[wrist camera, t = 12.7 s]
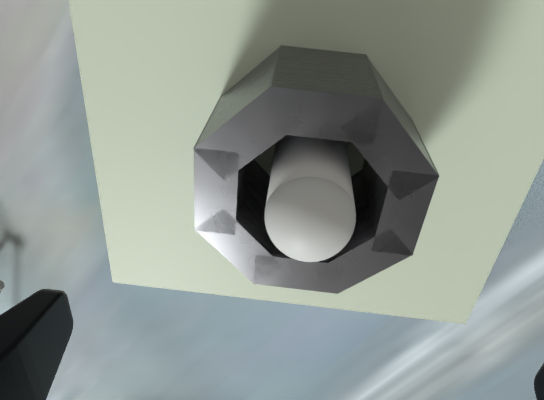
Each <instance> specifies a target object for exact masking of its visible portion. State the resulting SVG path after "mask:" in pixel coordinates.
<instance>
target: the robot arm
mask: <svg viewBox="0 0 544 400" xmlns="http://www.w3.org/2000/svg"><path fill="white" fill-rule="evenodd" d="M72 329H73V318H72V314H71V310H70V305H69V301H68V297H67V294H66V293H65V292H64V291H60V290H52V289H42V290H39V291H37V292H36V293H34V294H33V295H31V296H29V297H28V298H26V299H25V300H23V301H22V302H20V303H18V304H17V305H15V306H14V307H12V308H11V309H9V310H7V311H6V312H4V313H3V314H1V315H0V400H46V398H47V396H48V393H49V390H50V388H51V385H52V383H53V380H54V377H55V375H56V372H57V370H58V367H59V364H60V362H61V359H62V357H63V354H64V352H65V349H66V346H67V344H68V341H69V339H70V336H71V333H72ZM534 389H535V394H536V398H537V400H544V364H543V365H542V367H541V368H540V370H539V371H538V373H537V374H536V376H535V380H534Z"/></svg>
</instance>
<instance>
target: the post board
mask: <svg viewBox="0 0 544 400" xmlns="http://www.w3.org/2000/svg"><path fill="white" fill-rule="evenodd" d="M69 5H70V12H71V18H72V24H73V31H74V37H75V44H76V50H77V57H78V63H79V69H80V76H81V82H82V89H83V95H84V101H85V108H86V114H87V121H88V127H89V134H90V140H91V146H92V153H93V159H94V166H95V172H96V178H97V185H98V191H99V198H100V204H101V211H102V217H103V223H104V230H105V236H106V243H107V249H108V255H109V262H110V268H111V275H112V281H113V282H115V283H123V284H132V285H140V286H148V287H157V288H165V289H174V290H182V291H191V292H199V293H208V294H216V295H224V296H233V297H241V298H250V299H258V300H267V301H275V302H284V303H292V304H301V305H309V306H317V307H326V308H334V309H343V310H351V311H360V312H368V313H377V314H385V315H393V316H402V317H410V318H419V319H427V320H436V321H444V322H453V323H461V324H466V323H467V320H468V318H469V316H470V314H471V312H472V310H473V308H474V306H475V303H476V301H477V299H478V297H479V295H480V293H481V291H482V289H483V287H484V284H485V282H486V280H487V278H488V276H489V274H490V272H491V270H492V267H493V265H494V263H495V261H496V259H497V257H498V255H499V253H500V250H501V248H502V246H503V244H504V242H505V240H506V238H507V236H508V234H509V231H510V229H511V227H512V225H513V223H514V221H515V219H516V217H517V214H518V212H519V210H520V208H521V206H522V204H523V202H524V200H525V197H526V195H527V193H528V191H529V189H530V187H531V185H532V183H533V181H534V178H535V176H536V174H537V172H538V170H539V168H540V166H541V164H542V161H543V159H544V0H69ZM280 45H283V46H293V47H302V48H311V49H320V50H330V51H339V52H348V53H358V54H367V57H368V58H369V60H370V61H371V62H372V64H373V65H374V67H375V68H376V70H377V71H378V72H379V74H380V75H381V77H382V78H383V79H384V81H385V82H386V84H387V85H388V86H389V88H390V89H391V91H392V92H393V93H394V95H395V96H396V98H397V99H398V100H399V102H400V103H401V105H402V106H403V108H404V109H405V110H406V112H407V113H408V115H409V116H410V117H411V118H412V120H413V122H414V124H415V127H416V129H417V131H418V133H419V135H420V137H421V139H422V141H423V143H424V145H425V147H426V149H427V151H428V153H429V155H430V157H431V159H432V161H433V163H434V165H435V167H436V170H437V172H438V174H439V178H438V181H437V184H436V187H435V190H434V193H433V196H432V199H431V202H430V205H429V208H428V211H427V214H426V217H425V220H424V223H423V226H422V229H421V232H420V235H419V238H418V241H417V244H416V246H415V249H414V252H413V255H412V256H410V257H408V258H406V259H404V260H402V261H400V262H398V263H396V264H394V265H393V266H391V267H389V268H387V269H385V270H383V271H381V272H379V273H377V274H375V275H373V276H371V277H369V278H367V279H365V280H364V281H362V282H360V283H358V284H356V285H354V286H352V287H350V288H348V289H346V290H344V291H342V292H340V293H339V294H334V293H326V292H318V291H309V290H301V289H292V288H284V287H276V286H267V285H259V284H253V283H252V282H251V281H250V280H249V279H248V278H247V277H246V276H245V275H244V274H243V273H242V272H240V271H239V270H238V269H237V268H236V267H235V266H234V265H233V264H232V263H231V262H230V261H228V260H227V259H226V258H225V257H224V256H223V255H222V254H221V253H220V252H219V251H217V250H216V249H215V248H214V247H213V246H212V245H211V244H210V243H209V242H208V241H207V240H205V239H204V238H203V237H202V236H201V235H200V234H199V233H198V232H197V231H196V230H194V228H195V219H194V150H193V148H194V146H195V144H196V142H197V140H198V138H199V136H200V134H201V132H202V131H203V129H204V127H205V125H206V123H207V121H208V119H209V117H210V115H211V113H212V111H213V110H214V108H215V106H216V104H217V102H218V100H219V98H220V96H222V95H223V94H224V93H225V92H227V91H228V90H229V89H230V88H231V87H233V86H234V85H235V84H236V83H237V82H238V81H240V80H241V79H242V78H243V77H244V76H246V75H247V74H248V73H249V72H250V71H251V70H253V69H254V68H255V67H256V66H257V65H259V64H260V63H261V62H262V61H263V60H265V59H266V58H267V57H268V56H269V55H270V54H272V53H273V52H274V51H275V50H276V49H278V48H279V47H280ZM364 159H365V158H364V156H363V155H362V154H361V153H360V151H359V150H358V149H357V148H356V146H355V145H354V144H353V143H352V142H345V141H336V140H327V139H318V138H309V137H300V136H291V135H286V136H284V137H283V138H282V139H280V140H279V141H278V142H276V143H275V144H274V145H272V146H271V147H269V148H268V149H267V150H265V151H264V152H263V153H261V154H260V155H259V156H257V157H256V158H254V160H255V161H256V162H257V163H258V164H259V165H260V166H261V167H262V168H263V169H264V170H265V171H266V172H267V174H268V175H269V176H270V182H269V188H268V194H267V200H266V206H265V214H264V220H265V226H266V230H267V233H268V235H269V237H270V239H271V241H272V242H273V244H274V245H275V246H276V247H277V248H278V249H279V250H280V251H281V252H282V253H284V254H285V255H287V256H288V257H290V258H292V259H295V260H298V261H303V262H318V261H322V260H326V259H328V258H330V257H332V256H334V255H335V254H337V253H338V252H340V251H341V250H342V249H343V248H344V247H345V246H346V244H347V243H348V242H349V240H350V238H351V236H352V234H353V232H354V228H355V223H356V209H355V202H354V195H353V188H352V181H351V176H353V175H354V174H356V173H357V172H359V171H361V170H362V168H363V163H364Z"/></svg>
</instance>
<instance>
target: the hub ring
mask: <svg viewBox="0 0 544 400" xmlns="http://www.w3.org/2000/svg"><path fill="white" fill-rule="evenodd" d="M286 135H291V136H300V137H309V138H318V139H327V140H336V141H345V142H352V143H353V144H354V145H355V146H356V148H357V149H358V150H359V151H360V153H361V154H362V155H363V156H364V158H365V159H364V163H363V168H362V170H361V171H359V172H357V173H356V174H354V175H353V176H351V181H352V188H353V195H354V202H355V209H356V223H355V228H354V232H353V234H352V236H351V238H350V240H349V242H348V243H347V244H346V246H345V247H344V248H343V249H342V250H341V251H340V252H338V253H337V254H335V255H334V256H332V257H330V258H328V259H326V260H322V261H318V262H303V261H298V260H295V259H292V258H290V257H288V256H287V255H285V254H284V253H282V252H281V251H280V250H279V249H278V248H277V247H276V246H275V245H274V244H273V242H272V241H271V239H270V237H269V235H268V233H267V230H266V226H265V220H264V214H265V206H266V200H267V194H268V188H269V182H270V176H269V175H268V174H267V172H266V171H265V170H264V169H263V168H262V167H261V166H260V165H259V164H258V163H257V162H256V161H255V160H254V158H256V157H257V156H259V155H260V154H261V153H263V152H264V151H265V150H267V149H268V148H269V147H271V146H272V145H274V144H275V143H276V142H278V141H279V140H280V139H282V138H283V137H284V136H286ZM193 150H194V219H195V228H194V230H196V231H197V232H198V233H199V234H200V235H201V236H202V237H203V238H204V239H205V240H207V241H208V242H209V243H210V244H211V245H212V246H213V247H214V248H215V249H216V250H217V251H219V252H220V253H221V254H222V255H223V256H224V257H225V258H226V259H227V260H228V261H230V262H231V263H232V264H233V265H234V266H235V267H236V268H237V269H238V270H239V271H240V272H242V273H243V274H244V275H245V276H246V277H247V278H248V279H249V280H250V281H251V282H252V283H253V284H259V285H267V286H276V287H284V288H292V289H301V290H309V291H318V292H326V293H334V294H339V293H340V292H342V291H344V290H346V289H348V288H350V287H352V286H354V285H356V284H358V283H360V282H362V281H364V280H365V279H367V278H369V277H371V276H373V275H375V274H377V273H379V272H381V271H383V270H385V269H387V268H389V267H391V266H393V265H394V264H396V263H398V262H400V261H402V260H404V259H406V258H408V257H410V256H412V255H413V252H414V249H415V246H416V244H417V241H418V238H419V235H420V232H421V229H422V226H423V223H424V220H425V217H426V214H427V211H428V208H429V205H430V202H431V199H432V196H433V193H434V190H435V187H436V184H437V181H438V178H439V174H438V172H437V170H436V167H435V165H434V163H433V161H432V159H431V157H430V155H429V153H428V151H427V149H426V147H425V145H424V143H423V141H422V139H421V137H420V135H419V133H418V131H417V129H416V127H415V124H414V122H413V120H412V118H411V117H410V116H409V115H408V113H407V112H406V110H405V109H404V108H403V106H402V105H401V103H400V102H399V100H398V99H397V98H396V96H395V95H394V93H393V92H392V91H391V89H390V88H389V86H388V85H387V84H386V82H385V81H384V79H383V78H382V77H381V75H380V74H379V72H378V71H377V70H376V68H375V67H374V65H373V64H372V62H371V61H370V60H369V58H368V57H367V54H358V53H348V52H339V51H330V50H320V49H311V48H302V47H293V46H283V45H280V47H279V48H278V49H276V50H275V51H274V52H273V53H272V54H270V55H269V56H268V57H267V58H266V59H265V60H263V61H262V62H261V63H260V64H259V65H257V66H256V67H255V68H254V69H253V70H251V71H250V72H249V73H248V74H247V75H246V76H244V77H243V78H242V79H241V80H240V81H238V82H237V83H236V84H235V85H234V86H233V87H231V88H230V89H229V90H228V91H227V92H225V93H224V94H223V95H222V96H220V98H219V100H218V102H217V104H216V106H215V108H214V110H213V111H212V113H211V115H210V117H209V119H208V121H207V123H206V125H205V127H204V129H203V131H202V132H201V134H200V136H199V138H198V140H197V142H196V144H195V146H194V148H193Z"/></svg>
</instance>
